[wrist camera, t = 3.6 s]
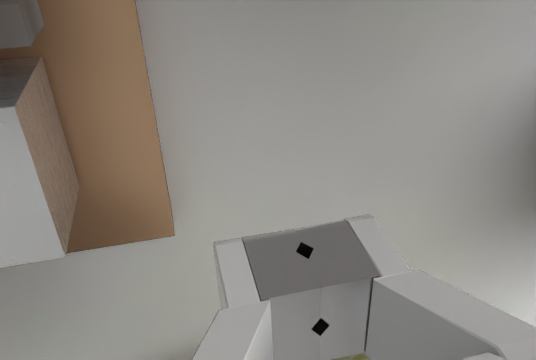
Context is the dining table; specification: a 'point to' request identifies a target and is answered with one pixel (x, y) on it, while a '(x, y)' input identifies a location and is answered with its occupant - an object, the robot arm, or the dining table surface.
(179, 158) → the dining table surface
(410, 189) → the dining table surface
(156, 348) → the dining table surface
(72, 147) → the bench
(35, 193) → the gauge plunger
